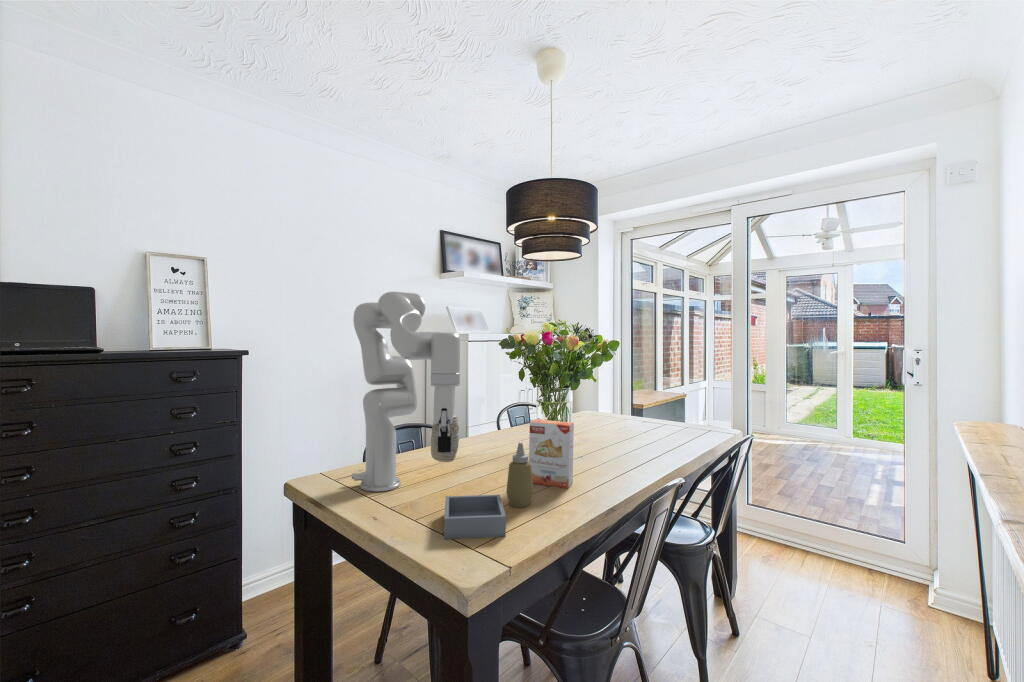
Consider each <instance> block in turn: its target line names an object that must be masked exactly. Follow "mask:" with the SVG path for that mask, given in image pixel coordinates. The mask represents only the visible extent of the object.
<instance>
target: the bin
mask: <svg viewBox="0 0 1024 682" xmlns="http://www.w3.org/2000/svg"><path fill="white" fill-rule="evenodd" d="M443 518H444V519H443V520H444V523H443V529H444V530H443V540H455V539H456V540H457V539H463V540H464V539H478V538H479V539H482V538H483V539H484V538H503V537H505V538H506V535H507V531H506V529H507V527H506V525H507V523H506V522H507V516H506V512H505V508H504V504H503V501H502V496H501V495H500V494H479V495H478V494H477V495H476V494H475V495H451V496H450V495H449V496H445V504H444V517H443Z"/></svg>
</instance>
